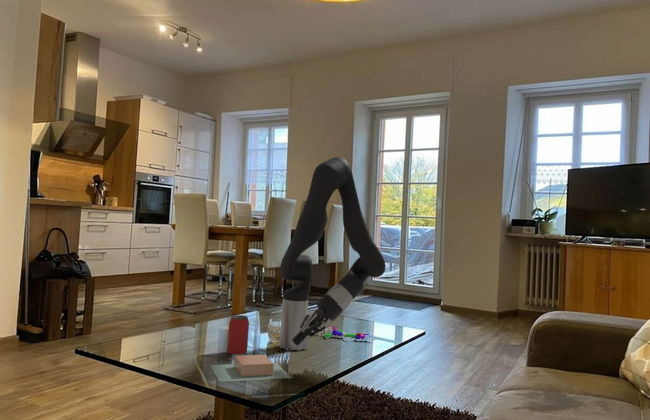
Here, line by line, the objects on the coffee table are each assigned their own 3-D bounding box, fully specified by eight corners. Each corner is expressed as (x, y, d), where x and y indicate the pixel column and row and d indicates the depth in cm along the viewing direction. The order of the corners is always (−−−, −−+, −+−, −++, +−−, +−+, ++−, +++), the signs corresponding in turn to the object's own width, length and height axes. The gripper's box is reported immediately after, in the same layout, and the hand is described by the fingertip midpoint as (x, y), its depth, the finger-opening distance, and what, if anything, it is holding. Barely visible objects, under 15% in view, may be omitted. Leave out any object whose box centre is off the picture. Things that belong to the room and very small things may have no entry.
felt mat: (275, 364, 146) (275, 362, 146) (291, 380, 131) (291, 377, 131) (209, 367, 138) (210, 365, 138) (219, 383, 123) (219, 381, 123)
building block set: (381, 337, 200) (381, 326, 200) (368, 346, 181) (369, 335, 181) (326, 329, 209) (326, 319, 209) (308, 338, 190) (309, 326, 190)
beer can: (229, 356, 152) (232, 318, 152) (224, 351, 158) (227, 315, 158) (249, 355, 155) (252, 318, 155) (243, 350, 161) (245, 314, 161)
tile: (264, 354, 141) (234, 355, 138) (273, 363, 132) (241, 364, 129) (263, 365, 141) (233, 366, 138) (272, 375, 132) (241, 377, 128)
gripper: (319, 290, 150) (280, 329, 145) (335, 296, 138) (292, 339, 133) (334, 307, 152) (295, 346, 147) (351, 314, 140) (309, 357, 134)
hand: (294, 343), depth 140 cm, fingers closed
